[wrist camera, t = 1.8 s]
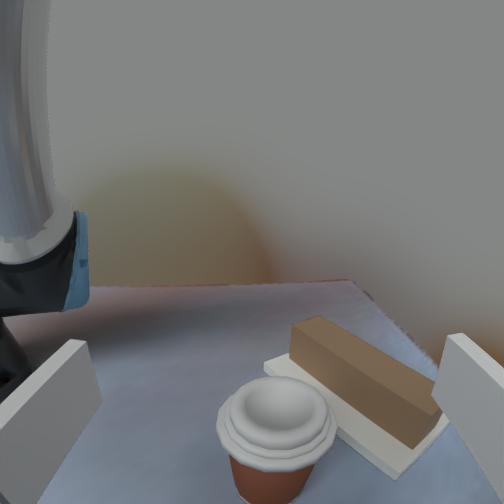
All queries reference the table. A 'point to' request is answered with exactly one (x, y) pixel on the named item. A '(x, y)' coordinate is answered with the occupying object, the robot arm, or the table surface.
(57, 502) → the table surface
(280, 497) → the coffee cup
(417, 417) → the stand
